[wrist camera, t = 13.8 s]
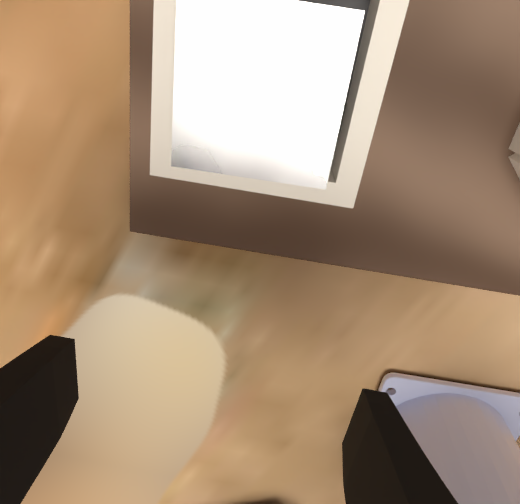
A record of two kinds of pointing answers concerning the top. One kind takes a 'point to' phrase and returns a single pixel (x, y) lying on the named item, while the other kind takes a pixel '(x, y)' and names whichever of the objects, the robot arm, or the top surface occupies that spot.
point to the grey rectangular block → (261, 87)
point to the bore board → (363, 151)
